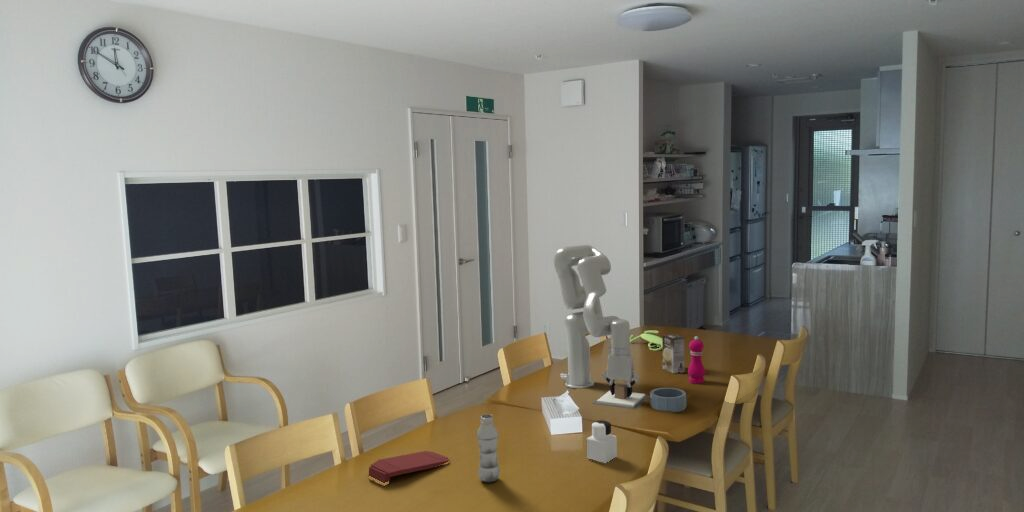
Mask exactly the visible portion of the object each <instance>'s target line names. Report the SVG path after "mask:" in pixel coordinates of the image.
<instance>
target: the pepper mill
mask: <svg viewBox="0 0 1024 512" xmlns="http://www.w3.org/2000/svg"><path fill="white" fill-rule="evenodd" d="M704 345H705V344H704V342H703V341H702V340H700V339H699V336H697V335H696V336H694V339H692V340H690V342H689V345H688V348H689V349H690V355H691V362H690V364H689V366H688V369H687V374H688V375H689V378H688V382H689V383H690V384H692V383H694V384H695V385H700V384H701V383H702V384H704V383H705V378H704V376H705V375H706V369H705V366H704V364H703V362H702V356H703V350H704V348H705V347H704ZM702 384H701V385H702Z"/></svg>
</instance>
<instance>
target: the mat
mask: <svg viewBox="0 0 1024 512" xmlns="http://www.w3.org/2000/svg"><path fill="white" fill-rule="evenodd" d="M608 391H609V390H607V391H606V392H605V393H604V394H606V393H607V392H608ZM604 394H602V395H600V396H599V397H598V399H599V398H601V397H602V396H603V395H604ZM648 398H650V395H647V394H645V397H644V398H643V399H642V400H641V401H640V402H639V403H638V404H637V405H636V406H635V407H633V408H632V407H624V406H616V405H608V404H601V403H597V400H598V399H596V400H594V401H593V402H592V403H591V404H592V405H597V406H598V405H599V406H605V407H612V408H613V407H615V408H623V409H629V410H637V409H638V408H639V407H640V406H641V405H643V403H645V402H646V401H647V400H648Z"/></svg>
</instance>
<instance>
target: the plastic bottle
mask: <svg viewBox="0 0 1024 512" xmlns="http://www.w3.org/2000/svg"><path fill="white" fill-rule="evenodd" d="M476 437H477V438H476V439H477V442H478V450H479V463H478V464H479V465H478V470H477V471H478V473H477V474H478V476H479V479H480V481H482V482H483V481H484V482H483V483H494V482H496V481H497V480H498V479H499V477H500V473H501V470H500V466H499V462H498V461H499V460H498V440H499V439H498V438H499V432H498V429H497V428H496V426H495V425H494V417H493V414H490V413H489V414H488V413H486V414H482V415H481V416H480V426H479V428H478V429H477V432H476ZM493 481H494V482H493Z"/></svg>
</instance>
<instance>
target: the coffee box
mask: <svg viewBox="0 0 1024 512" xmlns="http://www.w3.org/2000/svg"><path fill="white" fill-rule="evenodd" d="M661 338H662V344H663V348H662V370H664V371H667V372H668V373H672V374H673V373H674V374H679V373H678V372H680V373H685V337H684V336H683V335H682V336H681V335H679V334H676V333H668V334H662V337H661Z"/></svg>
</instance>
